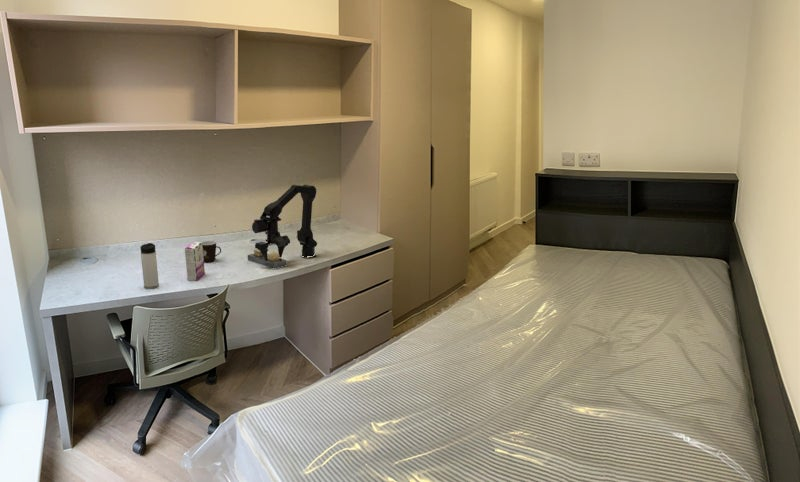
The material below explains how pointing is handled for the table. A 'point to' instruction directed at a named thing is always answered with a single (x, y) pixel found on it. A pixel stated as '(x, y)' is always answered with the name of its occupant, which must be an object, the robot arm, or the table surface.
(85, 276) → the table surface
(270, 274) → the table surface
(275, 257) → the tan wooden block
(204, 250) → the coffee mug
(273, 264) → the grey slotted base
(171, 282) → the table surface
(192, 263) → the candy bar box
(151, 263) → the travel mug
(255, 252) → the seated nut
